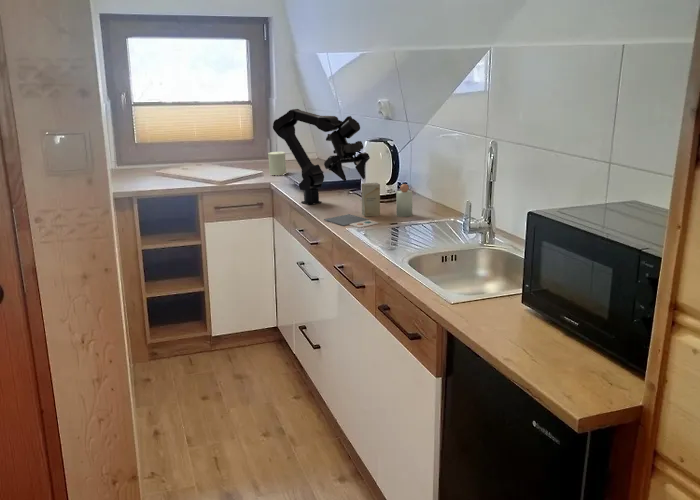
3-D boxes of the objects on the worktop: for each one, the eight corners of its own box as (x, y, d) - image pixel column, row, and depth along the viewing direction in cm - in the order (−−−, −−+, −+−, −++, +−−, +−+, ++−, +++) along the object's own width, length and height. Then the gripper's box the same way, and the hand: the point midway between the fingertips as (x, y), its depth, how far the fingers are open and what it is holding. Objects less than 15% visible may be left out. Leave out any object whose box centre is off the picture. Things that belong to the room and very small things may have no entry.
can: (276, 176, 326) (274, 153, 323) (265, 174, 333) (264, 152, 330) (290, 174, 332) (288, 151, 329) (279, 172, 339) (278, 150, 336)
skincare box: (365, 217, 236) (364, 185, 233) (361, 214, 240) (360, 183, 237) (380, 215, 238) (380, 184, 235) (376, 213, 242) (376, 182, 239)
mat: (323, 220, 233) (323, 219, 233) (349, 215, 240) (349, 214, 240) (343, 226, 224) (343, 225, 224) (369, 220, 231) (369, 219, 231)
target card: (349, 224, 226) (349, 223, 226) (368, 220, 231) (368, 219, 231) (359, 227, 221) (359, 226, 221) (378, 223, 226) (378, 222, 226)
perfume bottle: (393, 215, 238) (393, 183, 235) (404, 212, 242) (404, 181, 238) (404, 217, 234) (404, 186, 230) (415, 215, 237) (415, 183, 234)
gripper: (331, 134, 233) (346, 171, 230) (369, 132, 244) (384, 167, 241) (317, 150, 242) (331, 185, 238) (355, 147, 253) (369, 181, 249)
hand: (354, 179), depth 241 cm, fingers open, 9 cm apart
